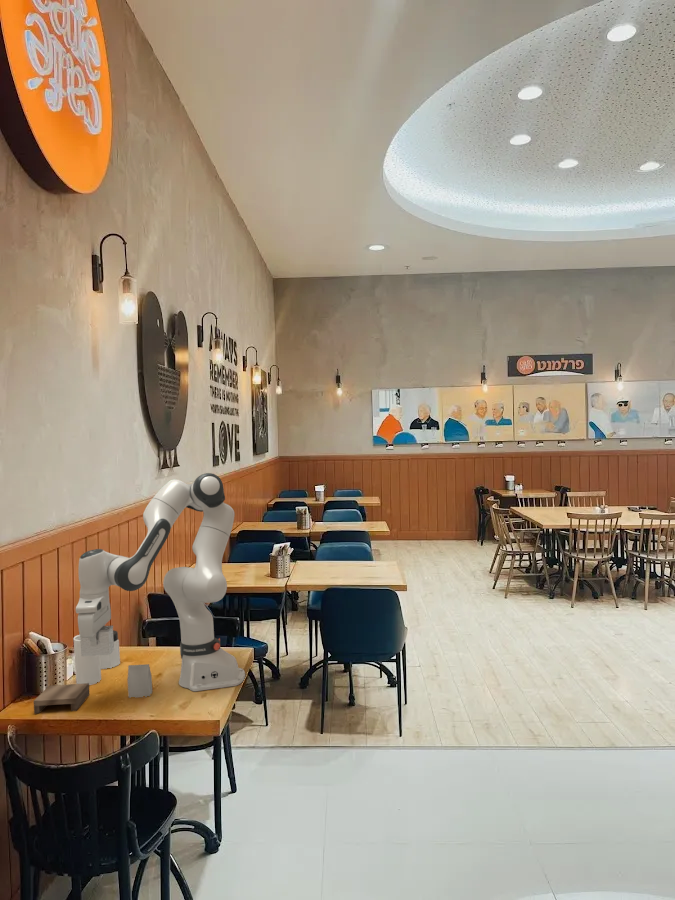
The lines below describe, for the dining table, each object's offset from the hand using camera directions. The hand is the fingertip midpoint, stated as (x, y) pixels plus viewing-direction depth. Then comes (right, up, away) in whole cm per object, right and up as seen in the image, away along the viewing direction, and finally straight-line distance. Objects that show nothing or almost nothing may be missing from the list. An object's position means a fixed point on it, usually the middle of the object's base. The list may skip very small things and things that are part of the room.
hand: (97, 642), depth 208 cm
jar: (-8, -19, +33) cm, 39 cm away
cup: (-10, -19, +18) cm, 28 cm away
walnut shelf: (-11, -20, 0) cm, 23 cm away
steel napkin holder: (0, -3, 0) cm, 3 cm away
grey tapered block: (+13, -19, +4) cm, 23 cm away
